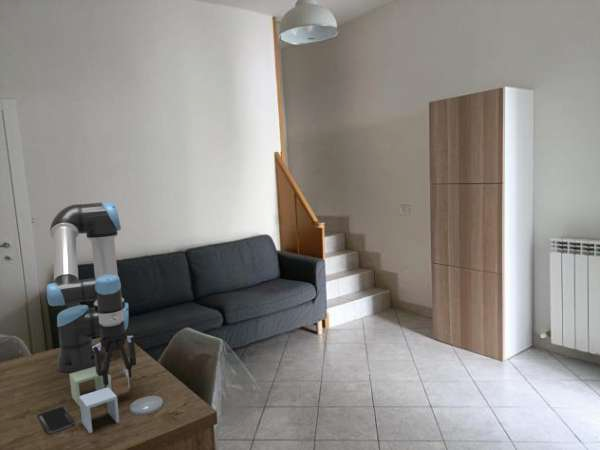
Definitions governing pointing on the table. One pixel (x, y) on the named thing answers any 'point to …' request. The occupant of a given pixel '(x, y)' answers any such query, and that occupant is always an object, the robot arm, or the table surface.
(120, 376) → the walnut block
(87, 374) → the sage cover
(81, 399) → the blue cover
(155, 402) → the dish
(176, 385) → the table surface
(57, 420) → the phone
